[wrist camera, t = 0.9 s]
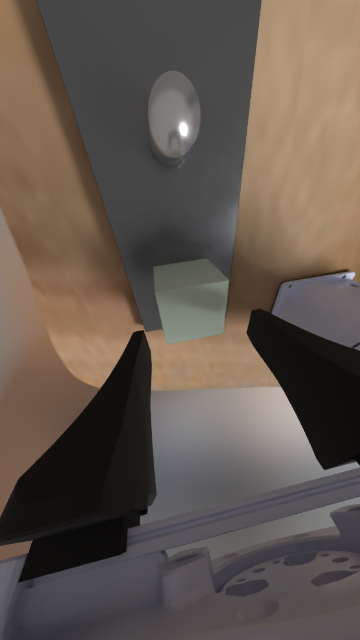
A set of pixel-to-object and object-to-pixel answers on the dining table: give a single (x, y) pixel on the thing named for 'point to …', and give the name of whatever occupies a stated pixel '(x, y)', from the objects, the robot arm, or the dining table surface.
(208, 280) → the sage green cube
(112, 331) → the dining table surface
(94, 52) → the base plate
